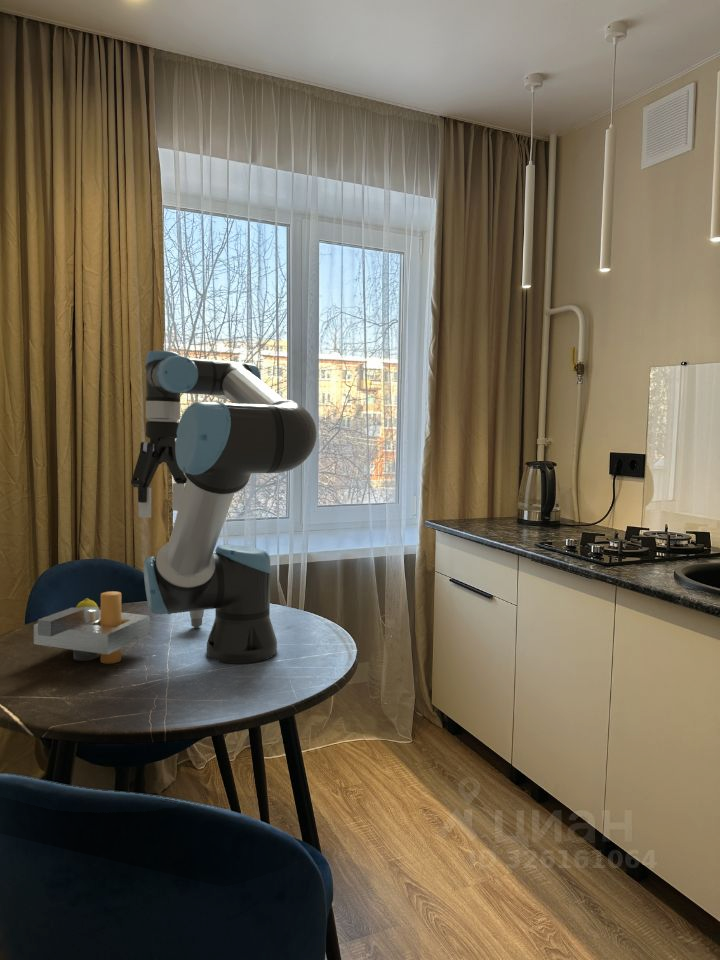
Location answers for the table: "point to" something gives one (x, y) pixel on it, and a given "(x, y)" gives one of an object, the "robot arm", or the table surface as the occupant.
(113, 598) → the pin
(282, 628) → the table surface
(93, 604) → the lemon
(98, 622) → the gray rectangular tray
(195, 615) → the lightbulb
